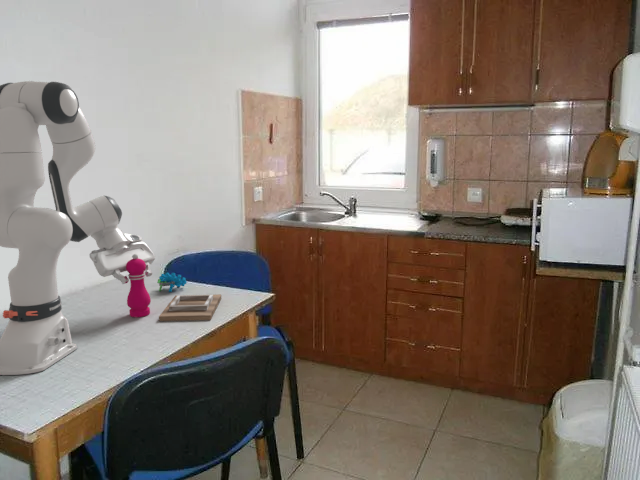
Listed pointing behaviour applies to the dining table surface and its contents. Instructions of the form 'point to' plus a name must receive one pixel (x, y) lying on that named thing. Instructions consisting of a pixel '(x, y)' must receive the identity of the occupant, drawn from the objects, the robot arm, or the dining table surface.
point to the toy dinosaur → (171, 281)
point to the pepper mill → (137, 288)
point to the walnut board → (190, 308)
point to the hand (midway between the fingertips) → (138, 278)
